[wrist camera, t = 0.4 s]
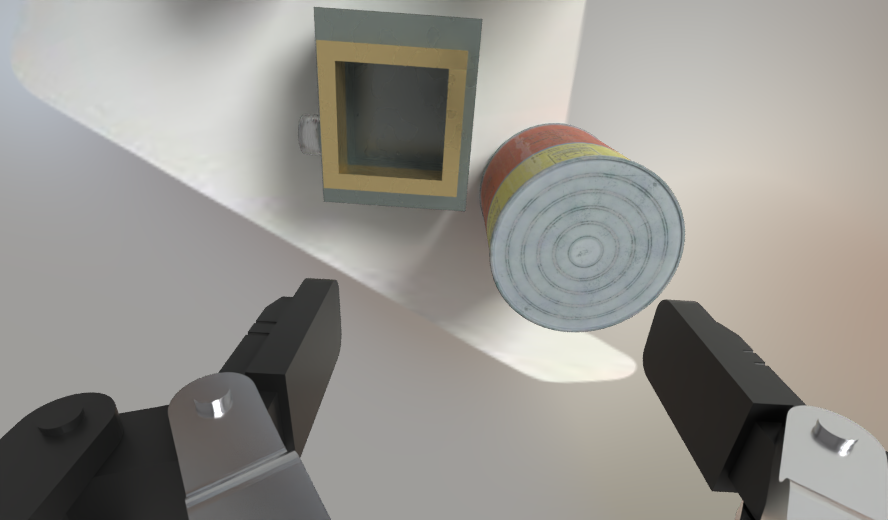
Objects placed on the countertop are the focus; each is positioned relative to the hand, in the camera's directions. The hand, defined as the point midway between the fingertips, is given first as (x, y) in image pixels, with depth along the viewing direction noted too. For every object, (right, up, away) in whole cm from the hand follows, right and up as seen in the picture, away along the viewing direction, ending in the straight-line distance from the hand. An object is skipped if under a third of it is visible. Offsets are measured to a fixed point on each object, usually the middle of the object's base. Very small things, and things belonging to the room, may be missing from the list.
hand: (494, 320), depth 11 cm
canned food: (+7, +7, +26) cm, 28 cm away
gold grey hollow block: (-4, +13, +23) cm, 27 cm away
